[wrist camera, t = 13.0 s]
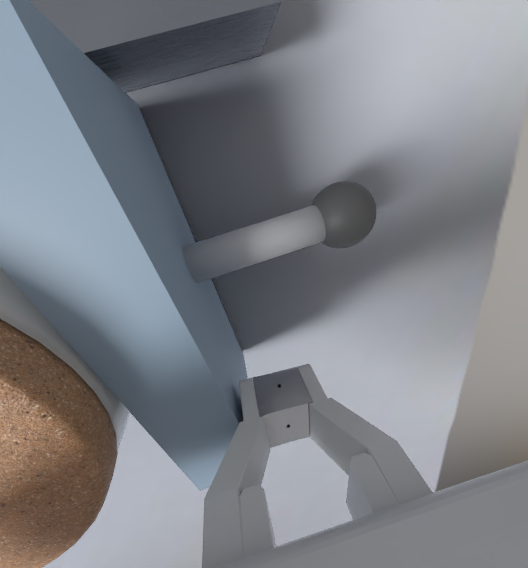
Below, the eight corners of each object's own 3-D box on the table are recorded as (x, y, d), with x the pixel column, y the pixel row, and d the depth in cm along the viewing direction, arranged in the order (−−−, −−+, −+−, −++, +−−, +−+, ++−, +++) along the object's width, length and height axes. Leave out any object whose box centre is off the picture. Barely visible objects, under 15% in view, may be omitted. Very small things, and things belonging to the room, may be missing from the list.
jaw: (347, 318, 15) (428, 402, 9) (202, 369, 14) (194, 492, 9) (317, 54, 9) (493, -154, 3) (64, 125, 8) (-244, 17, 3)
